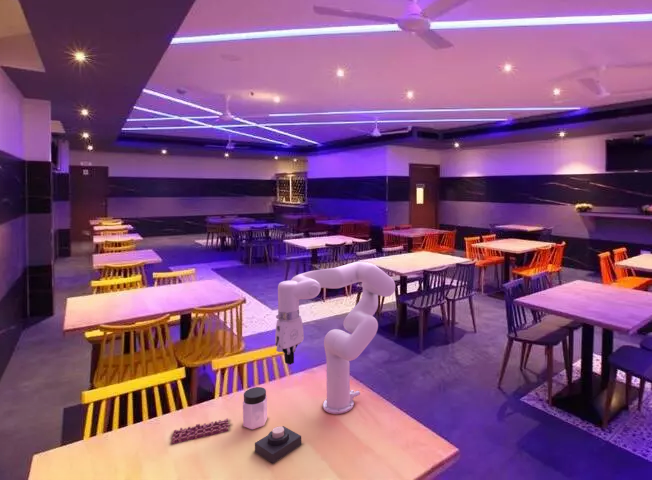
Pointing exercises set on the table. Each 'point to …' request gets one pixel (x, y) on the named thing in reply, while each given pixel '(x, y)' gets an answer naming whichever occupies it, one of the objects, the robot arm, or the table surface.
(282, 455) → the black push button
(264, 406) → the jar
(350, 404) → the robot arm
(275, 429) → the pink short cylinder
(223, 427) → the chocolate bar
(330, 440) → the table surface
